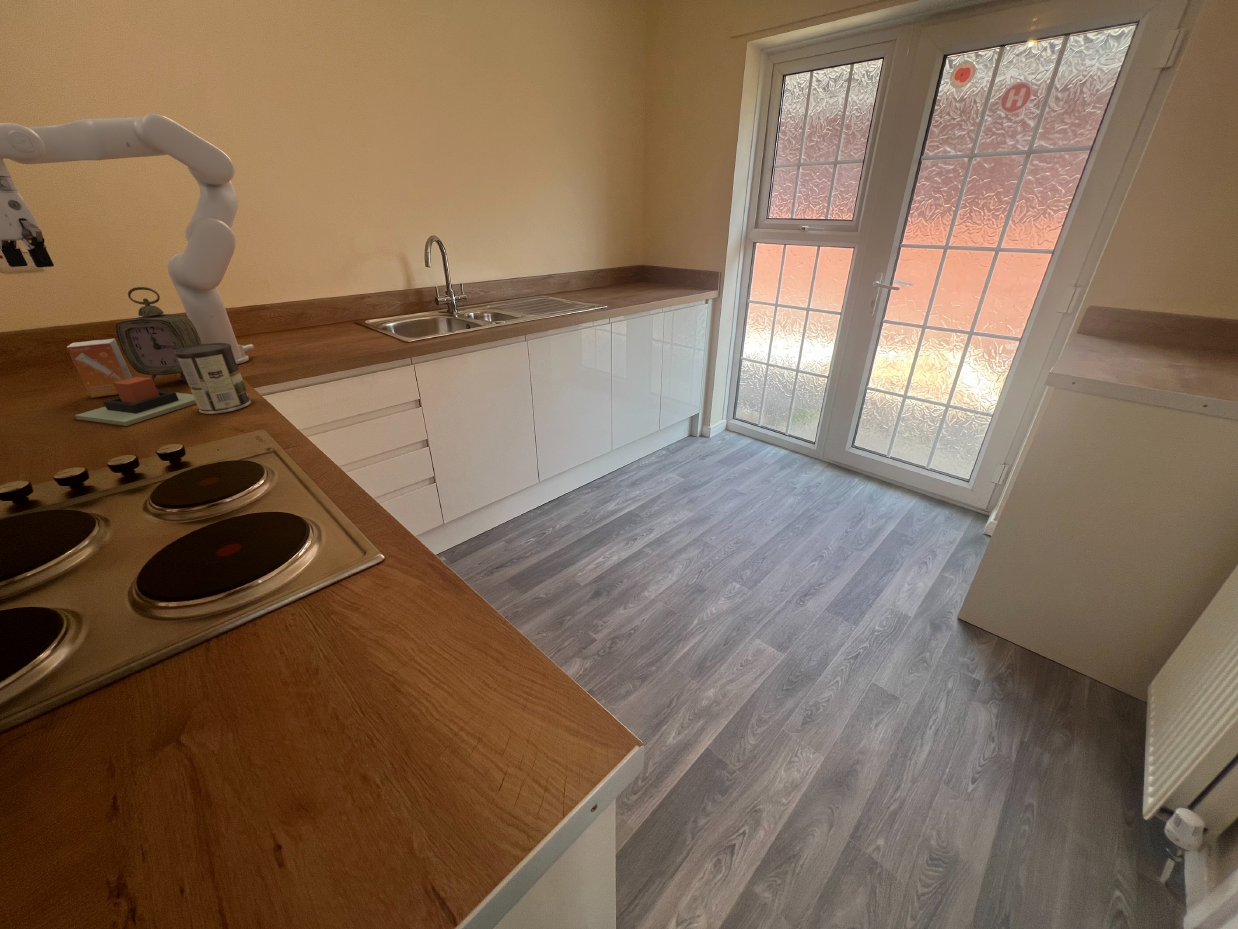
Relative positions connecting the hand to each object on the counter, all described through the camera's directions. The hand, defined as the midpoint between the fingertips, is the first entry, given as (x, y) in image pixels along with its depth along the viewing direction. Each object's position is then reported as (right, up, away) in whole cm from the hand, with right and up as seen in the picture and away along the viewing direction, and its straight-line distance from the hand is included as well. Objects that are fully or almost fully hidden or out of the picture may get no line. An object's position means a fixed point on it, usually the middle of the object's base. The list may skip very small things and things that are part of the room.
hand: (32, 266), depth 121 cm
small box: (+11, -30, +9) cm, 33 cm away
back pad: (+30, -35, -3) cm, 46 cm away
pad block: (+30, -34, -3) cm, 46 cm away
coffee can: (+49, -34, -2) cm, 60 cm away
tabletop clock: (+22, -26, +16) cm, 38 cm away
